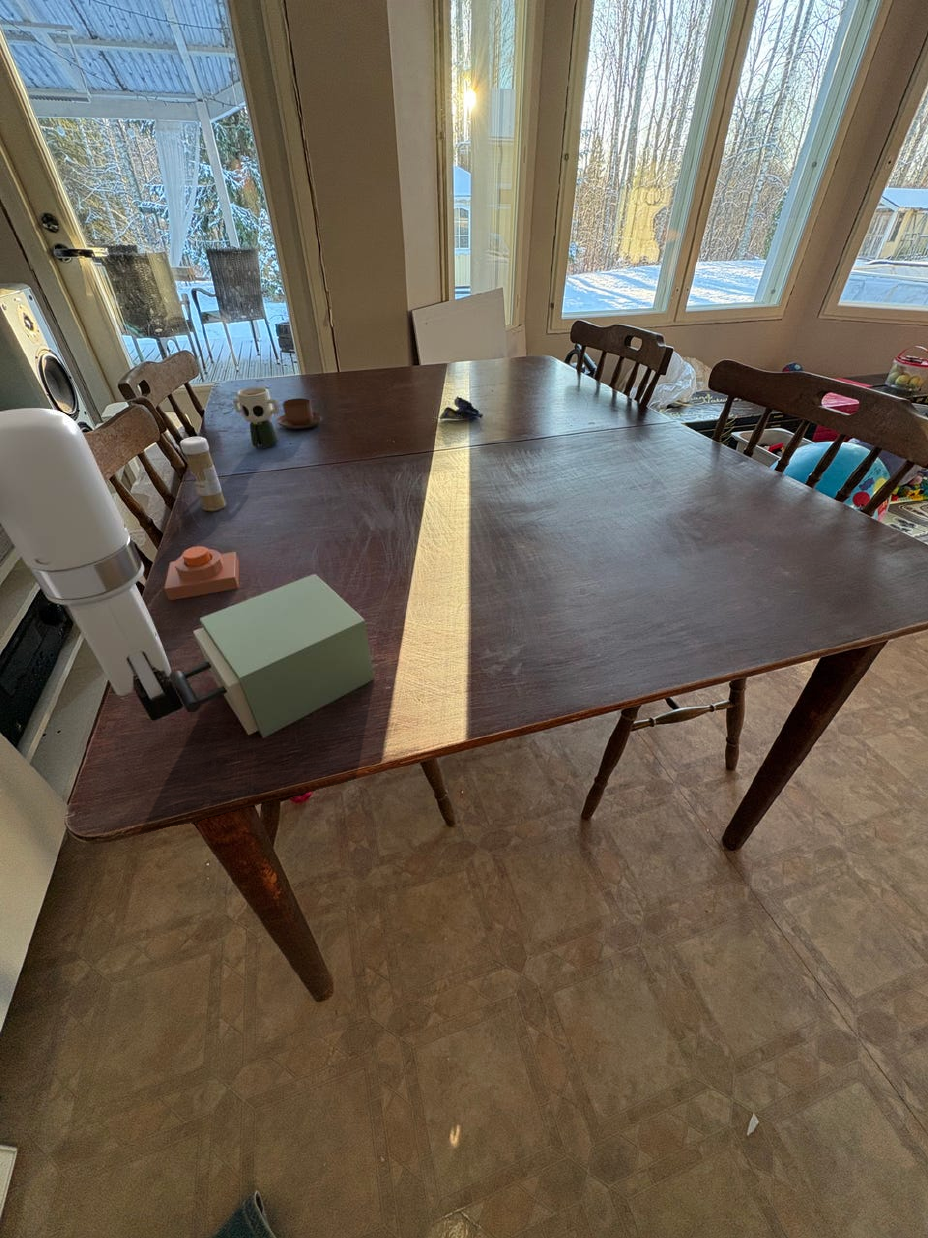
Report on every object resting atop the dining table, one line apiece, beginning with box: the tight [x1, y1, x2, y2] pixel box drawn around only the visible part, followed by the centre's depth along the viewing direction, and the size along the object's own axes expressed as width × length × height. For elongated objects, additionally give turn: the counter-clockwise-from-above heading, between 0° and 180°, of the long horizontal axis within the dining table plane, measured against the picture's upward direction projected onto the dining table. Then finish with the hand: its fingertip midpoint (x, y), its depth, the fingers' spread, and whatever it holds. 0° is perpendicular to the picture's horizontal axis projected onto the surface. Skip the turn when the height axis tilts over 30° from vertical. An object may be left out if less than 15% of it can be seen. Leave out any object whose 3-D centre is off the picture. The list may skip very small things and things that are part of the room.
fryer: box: [199, 573, 375, 739], centre depth 62 cm, size 15×13×10 cm
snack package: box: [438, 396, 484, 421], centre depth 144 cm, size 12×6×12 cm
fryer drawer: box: [169, 626, 259, 736], centre depth 60 cm, size 18×11×8 cm, turn 129°
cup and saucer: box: [276, 397, 323, 430], centre depth 139 cm, size 12×12×6 cm
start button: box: [181, 545, 211, 567], centre depth 79 cm, size 4×4×2 cm
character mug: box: [232, 386, 280, 448], centre depth 125 cm, size 11×7×13 cm, turn 85°
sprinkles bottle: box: [179, 436, 227, 512], centre depth 98 cm, size 5×5×13 cm
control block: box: [163, 548, 240, 601], centre depth 81 cm, size 10×8×4 cm
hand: (166, 709), depth 55 cm, fingers closed
